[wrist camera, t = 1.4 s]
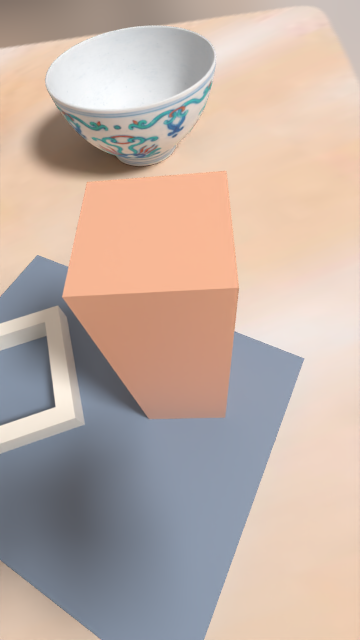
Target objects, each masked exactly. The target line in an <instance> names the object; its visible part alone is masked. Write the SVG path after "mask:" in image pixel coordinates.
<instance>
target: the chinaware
mask: <svg viewBox="0 0 360 640" xmlns="http://www.w3.org/2000/svg"><path fill="white" fill-rule="evenodd" d="M215 66H216V52H215V49H214V47H213V45H212V44H211V43H210V42H209V41H208V40H207V39H206V38H205V37H203V36H202V35H200V34H198V33H195V32H193V31H190V30H187V29H183V28H177V27H170V26H139V27H131V28H124V29H119V30H115V31H111V32H107V33H103V34H100V35H97V36H94V37H92V38H89V39H87V40H85V41H82V42H80V43H78V44H76V45H75V46H73V47H71V48H70V49H68V50H67V51H65V52H64V53H62V54H61V55H60V56H59V57H58V58H57V59H56V60H55V61H54V62H53V63H52V64H51V66H50V67H49V69H48V71H47V74H46V78H45V83H46V88H47V90H48V92H49V94H50V96H51V98H52V100H53V101H54V103H55V104H56V106H57V108H58V109H59V111H60V112H61V114H62V115H63V116H64V118H65V119H66V120H67V121H68V123H69V124H70V125H71V126H72V127H73V128H74V130H75V131H76V132H77V133H78V134H79V135H81V136H82V137H83V138H84V139H85V140H86V141H88V142H89V143H91V144H92V145H94V146H95V147H97V148H99V149H100V150H102V151H104V152H107V153H109V154H112V155H115V156H116V157H117V158H118V159H119V160H120V161H122V162H123V163H125V164H128V165H133V166H147V165H152V164H156V163H158V162H161V161H163V160H165V159H166V158H168V157H169V156H170V155H171V154H172V153H173V152H174V150H175V148H176V144H178V143H179V142H180V141H181V140H182V139H183V138H184V137H185V136H186V135H187V134H188V133H189V132H190V131H191V130H192V128H193V127H194V126H195V124H196V123H197V121H198V119H199V118H200V116H201V114H202V112H203V110H204V107H205V105H206V102H207V100H208V97H209V93H210V90H211V86H212V82H213V77H214V72H215Z"/></svg>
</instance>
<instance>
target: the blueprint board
mask: <svg viewBox="0 0 360 640" xmlns="http://www.w3.org/2000/svg"><path fill="white" fill-rule="evenodd" d="M67 272H68V267H67V266H64V265H62V264H59V263H57V262H54V261H52V260H49V259H46V258H44V257H41V256H39V255H37V256H36V257H35V258H34V260H33V261H32V262H31V263H30V264H29V265H28V266H27V267H26V269H25V270H24V271H23V272H22V273H21V274H20V275H19V276H18V278H17V279H16V280H15V281H14V282H13V283H12V284H11V285H10V287H9V288H8V289H7V290H6V291H5V292H4V293H3V295H2V296H1V297H0V323H3V322H7V321H10V320H13V319H16V318H19V317H23V316H26V315H29V314H32V313H35V312H38V311H42V310H45V309H48V308H51V307H54V306H59V308H60V309H61V310H62V311H63V313H64V314H65V315H66V317H67V321H68V327H69V333H70V338H71V344H72V350H73V356H74V362H75V368H76V374H77V380H78V386H79V392H80V398H81V404H82V410H83V416H84V422H85V425H82V426H79V427H76V428H73V429H70V430H68V431H65V432H62V433H59V434H56V435H53V436H50V437H47V438H44V439H41V440H39V441H36V442H33V443H30V444H27V445H24V446H21V447H18V448H15V449H12V450H10V451H7V452H4V453H1V454H0V560H1V561H2V562H3V563H5V564H6V565H7V566H8V567H10V568H11V569H12V570H13V571H15V572H16V573H17V574H19V575H20V576H21V577H22V578H24V579H25V580H26V581H27V582H29V583H30V584H31V585H33V586H34V587H35V588H36V589H38V590H39V591H40V592H41V593H43V594H44V595H45V596H47V597H48V598H49V599H50V600H52V601H53V602H54V603H55V604H57V605H58V606H59V607H61V608H62V609H63V610H64V611H66V612H67V613H68V614H69V615H71V616H72V617H73V618H75V619H76V620H77V621H78V622H80V623H81V624H82V625H83V626H85V627H86V628H87V629H89V630H90V631H91V632H92V633H94V634H95V635H96V636H97V637H99V638H100V639H101V640H204V638H205V635H206V632H207V629H208V627H209V624H210V621H211V618H212V615H213V613H214V610H215V607H216V604H217V601H218V599H219V596H220V593H221V590H222V587H223V585H224V582H225V579H226V576H227V573H228V571H229V568H230V565H231V562H232V559H233V557H234V554H235V551H236V548H237V545H238V543H239V540H240V537H241V534H242V531H243V529H244V526H245V523H246V520H247V517H248V515H249V512H250V509H251V506H252V503H253V501H254V498H255V495H256V492H257V489H258V487H259V484H260V481H261V478H262V475H263V473H264V470H265V467H266V464H267V461H268V459H269V456H270V453H271V450H272V447H273V445H274V442H275V439H276V436H277V433H278V431H279V428H280V425H281V422H282V419H283V417H284V414H285V411H286V408H287V405H288V403H289V400H290V397H291V394H292V391H293V389H294V386H295V383H296V380H297V377H298V375H299V372H300V369H301V366H302V363H303V361H304V358H301V357H299V356H296V355H294V354H291V353H289V352H286V351H283V350H281V349H278V348H276V347H273V346H271V345H268V344H265V343H263V342H260V341H258V340H255V339H252V338H250V337H247V336H245V335H242V334H240V333H237V332H234V339H233V348H232V358H231V368H230V377H229V387H228V396H227V406H226V415H225V418H182V419H149V418H148V417H147V416H146V414H145V413H144V411H143V410H142V409H141V407H140V406H139V404H138V403H137V401H136V400H135V399H134V397H133V396H132V394H131V393H130V392H129V390H128V389H127V387H126V386H125V385H124V383H123V382H122V380H121V379H120V378H119V376H118V375H117V373H116V372H115V371H114V369H113V368H112V366H111V365H110V364H109V362H108V361H107V359H106V358H105V357H104V355H103V354H102V352H101V351H100V349H99V348H98V347H97V345H96V344H95V342H94V341H93V340H92V338H91V337H90V335H89V334H88V333H87V331H86V330H85V328H84V327H83V326H82V324H81V323H80V321H79V320H78V319H77V317H76V316H75V314H74V313H73V312H72V310H71V309H70V307H69V306H68V305H67V303H66V302H65V300H64V299H63V298H62V295H63V291H64V286H65V281H66V277H67ZM54 407H56V406H55V398H54V390H53V382H52V374H51V366H50V358H49V350H48V342H47V336H45V337H41V338H38V339H35V340H32V341H29V342H26V343H23V344H20V345H16V346H13V347H10V348H7V349H4V350H1V351H0V426H1V425H4V424H7V423H10V422H13V421H16V420H19V419H22V418H25V417H28V416H31V415H34V414H37V413H40V412H43V411H45V410H48V409H51V408H54Z"/></svg>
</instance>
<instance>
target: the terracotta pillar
mask: <svg viewBox="0 0 360 640" xmlns="http://www.w3.org/2000/svg"><path fill="white" fill-rule="evenodd" d="M238 291H239V284H238V275H237V266H236V256H235V247H234V238H233V228H232V219H231V210H230V201H229V191H228V182H227V173H226V171H219V172H207V173H194V174H182V175H169V176H157V177H144V178H132V179H119V180H107V181H94V182H87V184H86V189H85V194H84V198H83V203H82V207H81V212H80V217H79V221H78V226H77V231H76V235H75V240H74V244H73V249H72V254H71V258H70V263H69V267H68V272H67V277H66V281H65V286H64V291H63V295H62V298H63V299H64V300H65V302H66V303H67V305H68V306H69V307H70V309H71V310H72V312H73V313H74V314H75V316H76V317H77V319H78V320H79V321H80V323H81V324H82V326H83V327H84V328H85V330H86V331H87V333H88V334H89V335H90V337H91V338H92V340H93V341H94V342H95V344H96V345H97V347H98V348H99V349H100V351H101V352H102V354H103V355H104V357H105V358H106V359H107V361H108V362H109V364H110V365H111V366H112V368H113V369H114V371H115V372H116V373H117V375H118V376H119V378H120V379H121V380H122V382H123V383H124V385H125V386H126V387H127V389H128V390H129V392H130V393H131V394H132V396H133V397H134V399H135V400H136V401H137V403H138V404H139V406H140V407H141V409H142V410H143V411H144V413H145V414H146V416H147V417H148V418H149V419H182V418H225V415H226V406H227V396H228V387H229V377H230V368H231V358H232V348H233V339H234V329H235V320H236V310H237V301H238Z"/></svg>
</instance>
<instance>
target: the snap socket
mask: <svg viewBox="0 0 360 640" xmlns="http://www.w3.org/2000/svg"><path fill="white" fill-rule="evenodd" d="M45 336H47V342H48V350H49V358H50V366H51V374H52V382H53V390H54V398H55V406H56V407H54V408H51V409H48V410H45V411H43V412H40V413H37V414H34V415H31V416H28V417H25V418H22V419H19V420H16V421H13V422H10V423H7V424H4V425H1V426H0V454H1V453H4V452H7V451H10V450H12V449H15V448H18V447H21V446H24V445H27V444H30V443H33V442H36V441H39V440H41V439H44V438H47V437H50V436H53V435H56V434H59V433H62V432H65V431H68V430H70V429H73V428H76V427H79V426H82V425H85V422H84V416H83V410H82V404H81V398H80V392H79V386H78V380H77V374H76V368H75V362H74V356H73V350H72V344H71V338H70V333H69V327H68V321H67V317H66V315H65V314H64V313H63V311H62V310H61V309H60V308H59V306H54V307H51V308H48V309H45V310H42V311H38V312H35V313H32V314H29V315H26V316H23V317H19V318H16V319H13V320H10V321H7V322H3V323H0V351H1V350H4V349H7V348H10V347H13V346H16V345H20V344H23V343H26V342H29V341H32V340H35V339H38V338H41V337H45Z"/></svg>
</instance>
